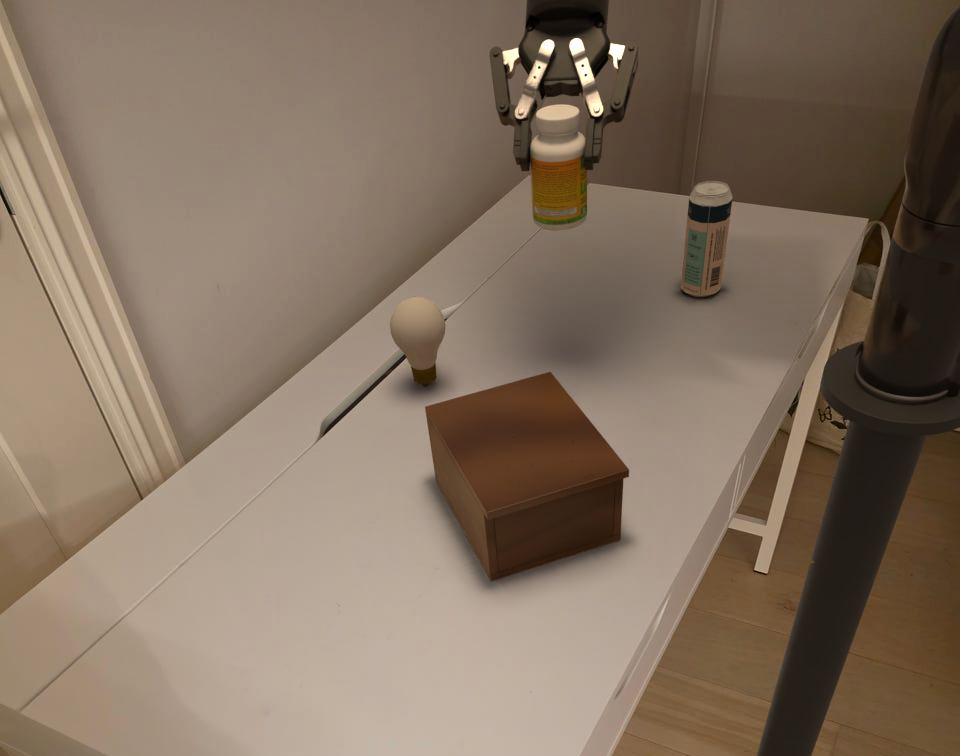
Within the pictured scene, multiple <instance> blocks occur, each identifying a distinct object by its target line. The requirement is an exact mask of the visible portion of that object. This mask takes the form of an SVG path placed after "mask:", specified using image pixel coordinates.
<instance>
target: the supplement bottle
mask: <svg viewBox="0 0 960 756" xmlns="http://www.w3.org/2000/svg"><path fill="white" fill-rule="evenodd" d="M580 119H581V117H580V109H579V108H578V107H577V106H574V105H571V104H563V103H561V104H551V105H547V106H544V107H541V109H540V110H538V111H537V113H536V116H535V129H536V132H537V133H538V134H537V135H536V136H534V138H532V142H531V145H530V188H531V211H532V212H531V213H532V221H533V223H534V224H535V226H537V228H541V229H543V230H547V231H554V232H559V231H567V230H572V229H575V228H577V227H579V226H581V225H582V224H583V223H584V222H585V221H586V220H587V216H588V170H585V163H584V157H585V142H586V136H585V135H584V134H583V133H581V132H580V131H578V130H579V129H580V127H581V126H580V124H581V122H580V121H581V120H580Z"/></svg>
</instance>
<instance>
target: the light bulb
mask: <svg viewBox="0 0 960 756" xmlns="http://www.w3.org/2000/svg"><path fill="white" fill-rule="evenodd" d="M389 329H390V335H391V337H392V340H393V342H394V344H395V345H396V346H397V348H399V350H401V352H402V353H403V355H404V356H405V358H406V360H407V362H408V364H409V365H410V369H411V373H412V378H413V382H414V383H415V384H418V385H421V386H424V387H428V386H430V385H431V384H432V383H434V382H436V380H437V378H438V376H437V363H436V362H437V359H438V352H439V348H440V346H441V344H442V343H443V341H444V338H445V334H446V321H445V317H444V314H443V311H442V310H441V309H440V307H439V306H438V305H437V304H436V303H435V302H433V301H432V300H430V299H429V298H426V297H422V296H412V297H408V298H405V299H404V300H402V301H401V302H400V303H398V304H397V306H396V307H395V308H394V309H393V311H392V314H391V317H390V321H389Z"/></svg>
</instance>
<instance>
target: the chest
mask: <svg viewBox="0 0 960 756" xmlns="http://www.w3.org/2000/svg"><path fill="white" fill-rule="evenodd" d="M425 418H426V424H427V431H428V436H429V444H430V452H431V457H432V464H433V465H432V466H433V471H434V477H435V482H436V483H437V486H438V487H439V489H440V491H441V493H442V495H443V497H444V498H445V500H446V502H447V503H448V506H449V507H450V510H451V511H452V513H453V515H454V516H455V518H456V521H457V522H458V524H459V526H460V527H461V530H462V531H463V534H464V535H465V537H466V538H467V540H468V542H469V544H470V546H471V548H472V550H473V552H474V553H475V555H476V557H477V559H478V561H479V562H480V565H481V566H482V568H483V570H484V571H485V574H486V575H487V577H488V579H489V581H490V582H493V581H497V580H500V579H502V578H506V577H509V576H512V575H515V574H518V573H521V572H525V571H527V570H531V569H534V568H537V567H540V566H543V565H547V564H550V563H552V562H556V561H559V560H562V559H565V558H569V557H571V556H576V555H578V554H581V553H584V552H587V551H591V550H594V549H598V548H600V547H603V546H606V545H609V544H613V543H615V542H618V541H621V539H622V518H623V517H622V516H623V496H624V480H625V478H624V479H621V480H617V481H614V482H611V483H607V484H604V485H601V486H598V487H594V488H591V489H588V490H585V491H581V492H578V493H575V494H571V495H568V496H565V497H562V498H558V499H555V500H552V501H549V502H545V503H542V504H539V505H535V506H532V507H529V508H526V509H522V510H519V511H516V512H513V513H509V514H506V515H503V516H500V517H496V518H493V519H490V520H488V519H487V518H486V516H485V514H484V512H483V511H482V509H481V507H480V506H479V504H478V502H477V500H476V499H475V497H474V495H473V494H472V492H471V490H470V488H469V487H468V485H467V483H466V482H465V480H464V478H463V476H462V475H461V473H460V471H459V470H458V468H457V466H456V464H455V463H454V461H453V459H452V457H451V456H450V454H449V452H448V451H447V449H446V447H445V445H444V444H443V442H442V440H441V439H440V437H439V435H438V433H437V432H436V430H435V428H434V427H433V425H432V423H431V421H430V420H429V418H428V416H427V414H426V413H425Z"/></svg>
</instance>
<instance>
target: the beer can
mask: <svg viewBox="0 0 960 756" xmlns="http://www.w3.org/2000/svg"><path fill="white" fill-rule="evenodd" d="M732 205H733V194H732V191H731V187H730V186H729V185H728V183H725V182H724V181H719V180H706V181H702V182H698V183H697V184H696V185H695V186H694V187H693V190H692V191H691V193H690V194H689V197H688V207H687V216H686V217H687V219H686V228H685V239H684V249H683V260H682V269H681V270H682V271H681V281H680V288H681V290H682V291H683V292H684V293H686V294H688V295H689V296H691V297H696V298H706V297H709V296H712V295H714V294H716V293H718V292H719V291H720V290H721V288H722V284H723V283H722V281H723V275H724V269H725V268H724V267H725V260H726V259H725V258H726V252H727V243H728V238H729V237H728V236H729V228H730V222H731V221H730V220H731V214H732V213H731V212H732Z"/></svg>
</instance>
